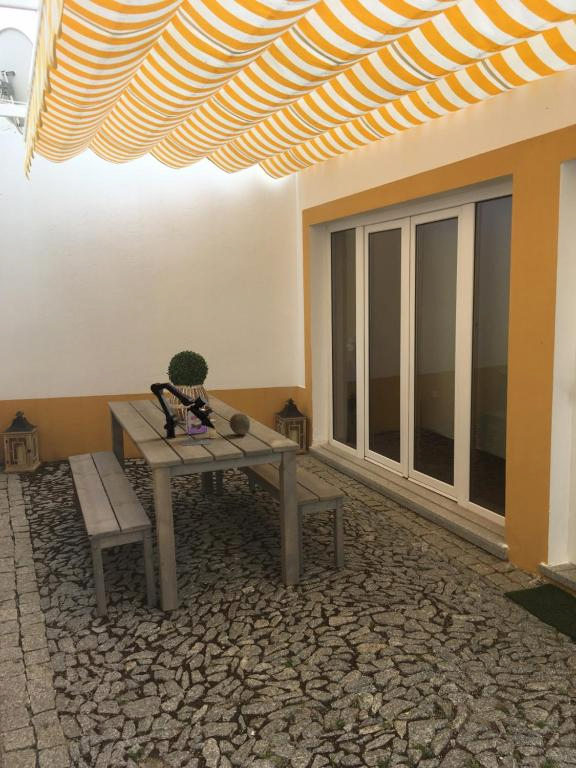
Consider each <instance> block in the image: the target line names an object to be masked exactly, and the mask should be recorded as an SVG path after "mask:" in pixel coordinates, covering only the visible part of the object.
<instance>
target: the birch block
mask: <svg viewBox="0 0 576 768" xmlns="http://www.w3.org/2000/svg"><path fill="white" fill-rule="evenodd" d="M210 422H211V423H212V424H213V425H214V427H215V428H214V429H213V428H210V427H208V435H209V436H208V437H210V438H213V439H217V421H216V419H210ZM210 438H209V439H210Z"/></svg>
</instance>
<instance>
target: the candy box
mask: <svg viewBox="0 0 576 768" xmlns="http://www.w3.org/2000/svg"><path fill="white" fill-rule="evenodd" d="M201 409H202V410H203V411H204V410H205V408H201ZM184 411H185V412H184V413H185V415H184V416H185V433H186V434H187V435H189V434H190V435H196V434H195V433H200V434H206V433H205V432H207V433H208V431H207V430H208V429H207V428H208V427H207V426H203V425H202V424H201V421H200V420H199V419H198V418H196V416H195V415H194V414H193V413H191V412H190V411H189V412H188V413H187V409H186V410H184Z"/></svg>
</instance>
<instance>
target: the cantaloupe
mask: <svg viewBox="0 0 576 768" xmlns="http://www.w3.org/2000/svg"><path fill="white" fill-rule="evenodd" d="M228 423H229V427H230V429H231V431H233V433H235V434H237V435H239V436H245V435H246V434H248V432H250V428H251V421H250V420H249V417H248V416H247V415H246V414H245V413H244V414H243V413H235V414H233V415H232V416H231V417H230V419H229V422H228Z"/></svg>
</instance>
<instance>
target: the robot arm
mask: <svg viewBox="0 0 576 768" xmlns="http://www.w3.org/2000/svg"><path fill="white" fill-rule="evenodd" d="M149 387H150V388H149V389H150V392H151V393H152V394H153V395H154V396H155V397H156V398H157V400H158V402H159V404H160V406H161V408H162V410H163V413H164V415H165V422H166V423H165V424H164V425H163V430H165V431H166V435H165V438H166V439H175V438H176V428H177V426H178V425H179V418H178V415H177V413H173V412H172V410H171V407H170V405H169V403H168V401H167V399H166V397H165V395H164V390H167V391H168V392H169V393H170V394H172V395H173V396H174V397H176V398H177V399H178V400H179V402H180V403H181V405H182V406H184V407H186V410H187V413H188V412H189V411H190V412H191V413H193V414H194V415H195V416H196V418H198V419H199V420H200V421H201V424H202V425H203V426H207V428H209V427H210V428H213V429H214V428H215V427H214V425H213V424H212V423H211V422H210V420H211V413H213V412H214V410H213V408H212V406H209V405H208V406H206V404H207V403H208V400H207V398H205V397H204V396H202V395H198V397H197V398H196V399H195V398H193V397H191V396H190V395H187V394H184V393H183V392H182V391H180V390H179V389H178V388H176V386H174V385H172V383H171V382H169V381H167V382H162V383H161V382H155V383H152V384H150V386H149ZM204 406H206V409H205V408H204V409H205V410H204V411H203V410H202V409H203V407H204Z"/></svg>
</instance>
